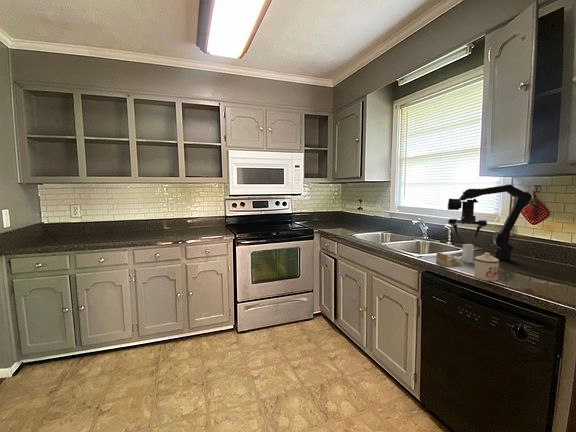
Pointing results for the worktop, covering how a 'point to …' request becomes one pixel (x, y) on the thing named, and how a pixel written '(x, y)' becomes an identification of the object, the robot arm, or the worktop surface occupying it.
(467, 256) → the white rectangular block
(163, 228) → the worktop surface
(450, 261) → the sleeve
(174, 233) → the worktop surface
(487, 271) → the teacup with lid
